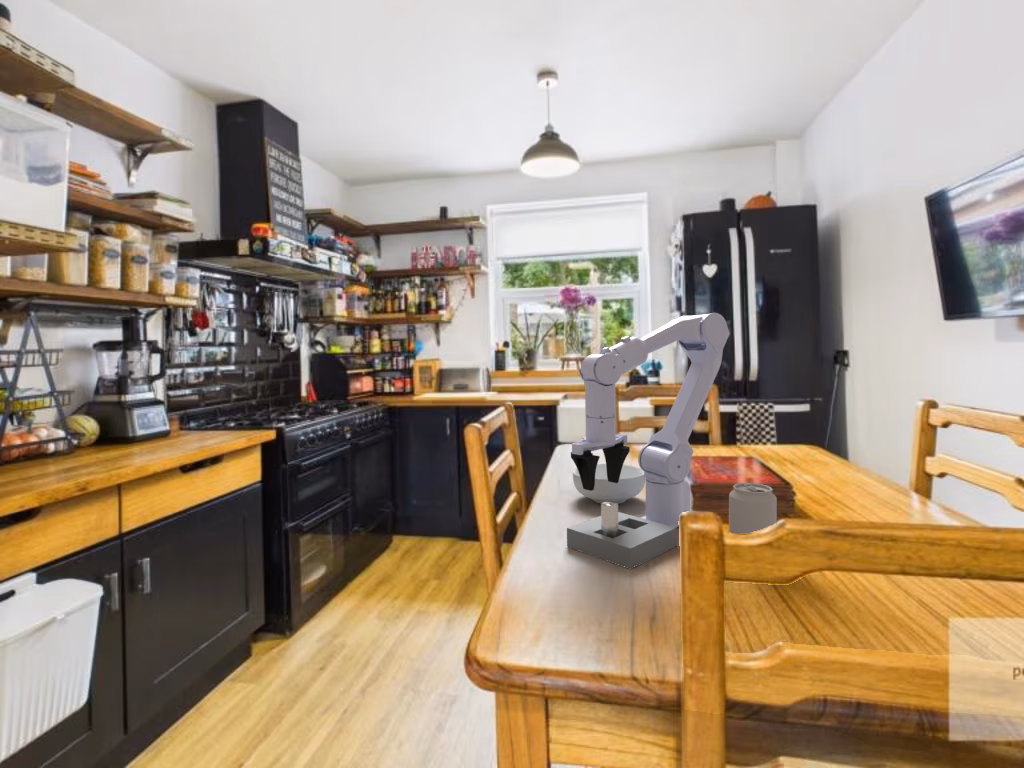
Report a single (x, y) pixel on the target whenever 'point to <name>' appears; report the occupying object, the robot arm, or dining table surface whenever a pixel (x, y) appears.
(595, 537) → the hole block
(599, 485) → the cereal bowl
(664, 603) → the dining table surface
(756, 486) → the can
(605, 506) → the pin
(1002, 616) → the dining table surface
